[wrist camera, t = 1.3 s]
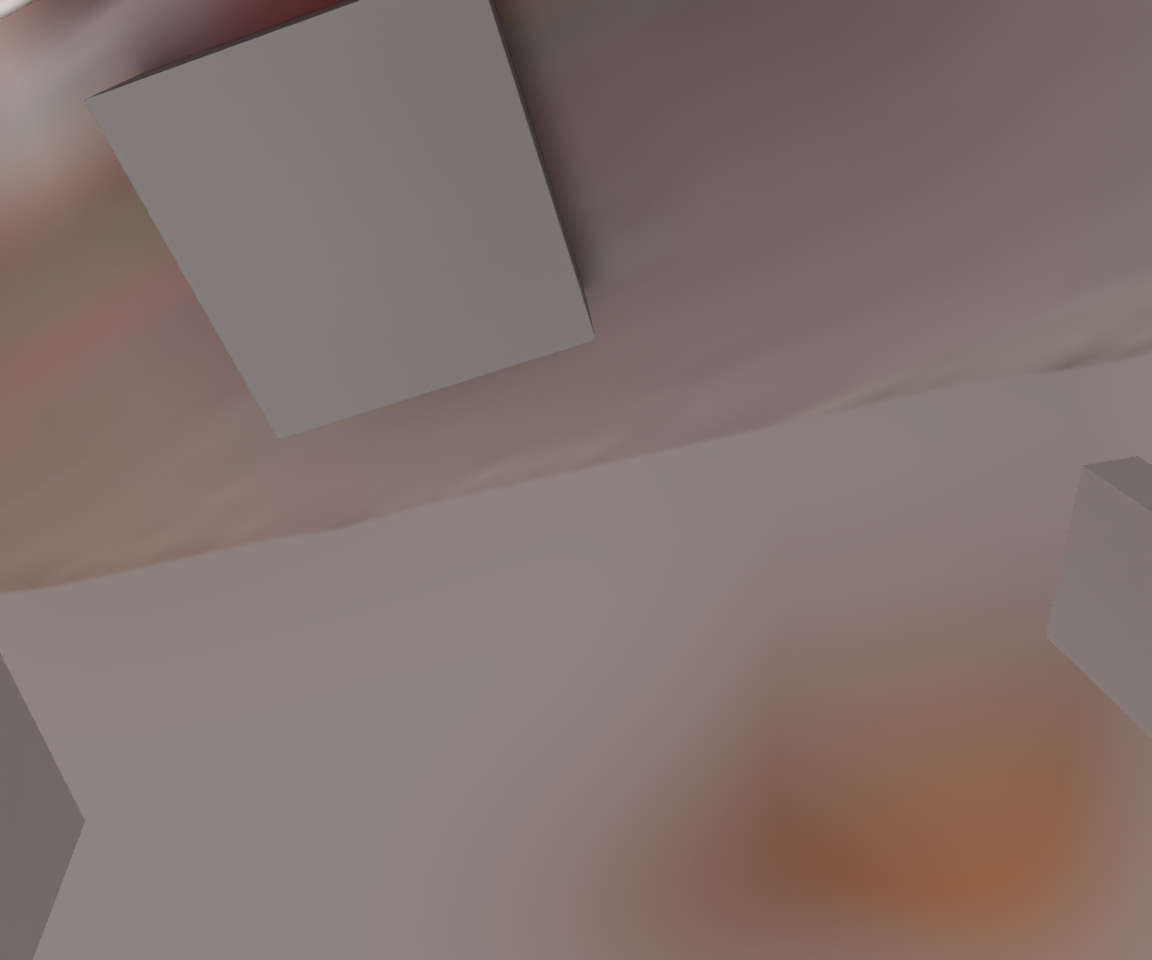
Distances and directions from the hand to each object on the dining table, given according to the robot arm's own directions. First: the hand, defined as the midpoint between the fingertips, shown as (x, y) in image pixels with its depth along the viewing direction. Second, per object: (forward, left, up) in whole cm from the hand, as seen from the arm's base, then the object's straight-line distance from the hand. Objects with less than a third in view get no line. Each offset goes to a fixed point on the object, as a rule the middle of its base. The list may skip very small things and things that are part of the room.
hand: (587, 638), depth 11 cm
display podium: (+5, -1, -25) cm, 26 cm away
